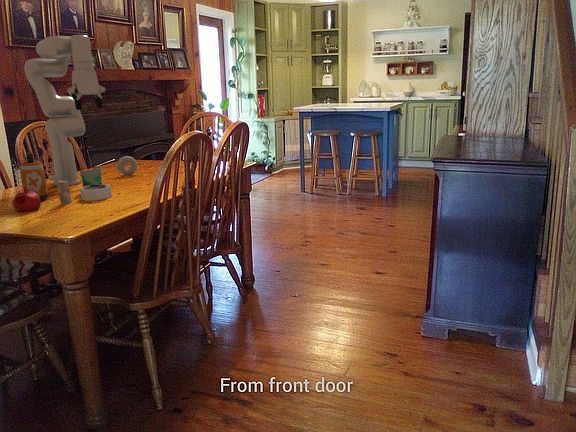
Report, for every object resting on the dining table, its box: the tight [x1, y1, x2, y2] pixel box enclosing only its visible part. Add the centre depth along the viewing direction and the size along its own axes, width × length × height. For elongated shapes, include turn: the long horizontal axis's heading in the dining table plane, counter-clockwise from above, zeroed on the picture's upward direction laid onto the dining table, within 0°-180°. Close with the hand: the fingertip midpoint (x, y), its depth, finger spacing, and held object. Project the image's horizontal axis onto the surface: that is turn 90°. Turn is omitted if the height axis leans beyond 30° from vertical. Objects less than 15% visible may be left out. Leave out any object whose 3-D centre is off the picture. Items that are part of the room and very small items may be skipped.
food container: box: [79, 166, 104, 187], centre depth 221 cm, size 12×6×10 cm, turn 168°
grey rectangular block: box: [57, 181, 72, 205], centre depth 199 cm, size 3×3×9 cm
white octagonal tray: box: [79, 183, 113, 202], centre depth 208 cm, size 11×11×4 cm
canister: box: [19, 152, 49, 202], centre depth 206 cm, size 9×11×20 cm
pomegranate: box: [11, 186, 42, 213], centre depth 190 cm, size 10×10×9 cm
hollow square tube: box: [86, 183, 105, 190], centre depth 208 cm, size 6×6×4 cm
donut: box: [116, 155, 138, 176], centre depth 257 cm, size 10×4×10 cm, turn 109°
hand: (89, 109), depth 209 cm, fingers open, 9 cm apart
